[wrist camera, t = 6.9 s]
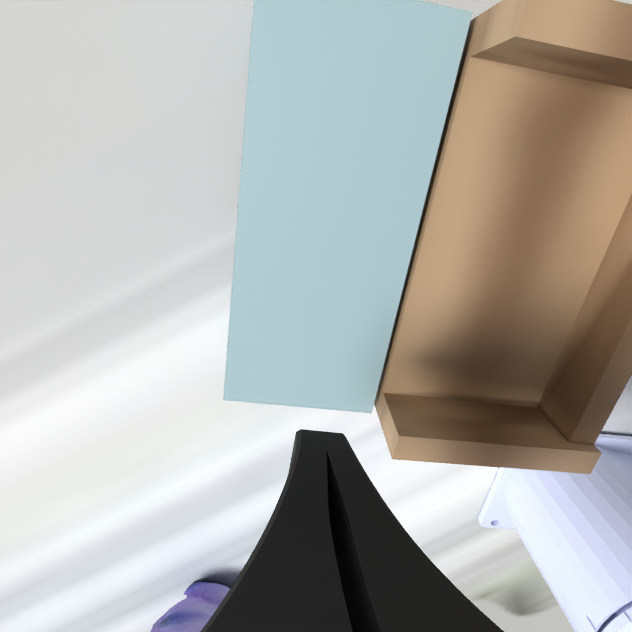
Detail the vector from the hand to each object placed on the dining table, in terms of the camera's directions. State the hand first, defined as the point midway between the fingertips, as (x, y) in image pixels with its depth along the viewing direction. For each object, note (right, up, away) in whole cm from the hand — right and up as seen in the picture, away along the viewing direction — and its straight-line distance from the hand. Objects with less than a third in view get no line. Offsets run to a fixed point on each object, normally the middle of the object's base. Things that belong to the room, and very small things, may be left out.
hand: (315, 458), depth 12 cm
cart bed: (+8, +7, +8) cm, 14 cm away
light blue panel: (+4, +7, +5) cm, 9 cm away
